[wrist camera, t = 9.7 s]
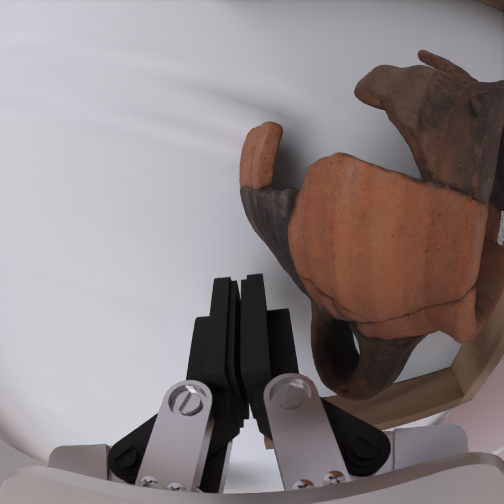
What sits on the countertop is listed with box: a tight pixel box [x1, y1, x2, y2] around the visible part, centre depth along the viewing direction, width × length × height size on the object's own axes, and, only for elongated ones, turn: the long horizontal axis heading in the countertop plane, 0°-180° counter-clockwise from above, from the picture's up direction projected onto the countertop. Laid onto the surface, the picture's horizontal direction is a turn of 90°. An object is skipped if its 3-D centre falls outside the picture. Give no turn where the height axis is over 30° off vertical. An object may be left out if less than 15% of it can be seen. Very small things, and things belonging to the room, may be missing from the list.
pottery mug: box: [240, 50, 504, 401], centre depth 10 cm, size 12×10×8 cm
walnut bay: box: [264, 0, 504, 449], centre depth 11 cm, size 27×16×3 cm, turn 7°
